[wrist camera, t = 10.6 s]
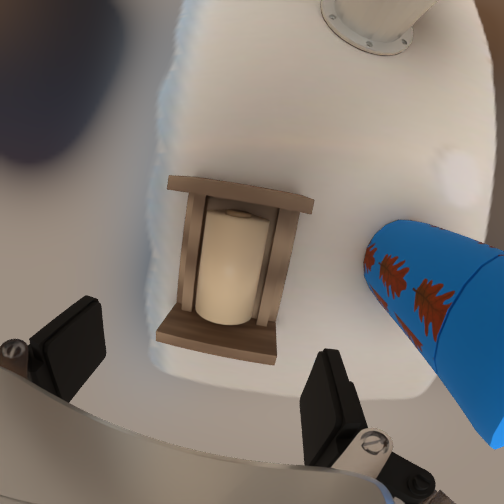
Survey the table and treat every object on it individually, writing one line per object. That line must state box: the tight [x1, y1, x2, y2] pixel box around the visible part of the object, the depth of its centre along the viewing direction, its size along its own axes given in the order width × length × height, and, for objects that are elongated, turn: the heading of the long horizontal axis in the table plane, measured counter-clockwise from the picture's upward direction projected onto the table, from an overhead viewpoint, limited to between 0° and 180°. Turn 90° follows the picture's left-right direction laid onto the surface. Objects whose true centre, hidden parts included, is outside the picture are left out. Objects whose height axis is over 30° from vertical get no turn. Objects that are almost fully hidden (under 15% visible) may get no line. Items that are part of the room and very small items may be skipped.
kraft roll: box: [195, 209, 270, 325], centre depth 27 cm, size 11×6×6 cm, turn 170°
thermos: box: [363, 220, 504, 449], centre depth 18 cm, size 11×11×25 cm
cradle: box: [156, 175, 314, 365], centre depth 27 cm, size 16×12×8 cm
